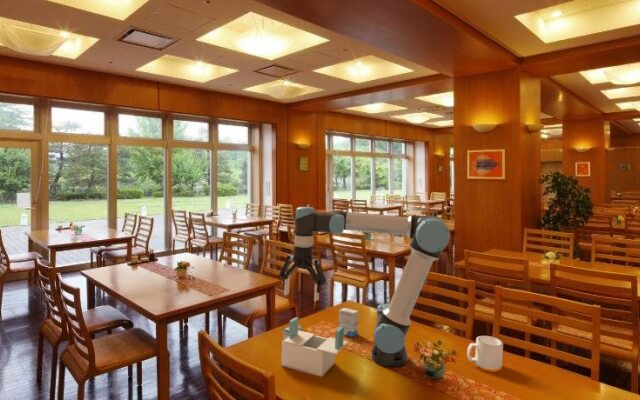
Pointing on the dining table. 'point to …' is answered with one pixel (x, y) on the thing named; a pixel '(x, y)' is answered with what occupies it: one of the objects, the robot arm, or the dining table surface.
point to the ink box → (349, 321)
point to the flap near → (334, 343)
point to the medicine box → (286, 332)
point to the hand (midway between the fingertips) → (301, 297)
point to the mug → (487, 352)
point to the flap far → (297, 334)
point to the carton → (307, 357)
